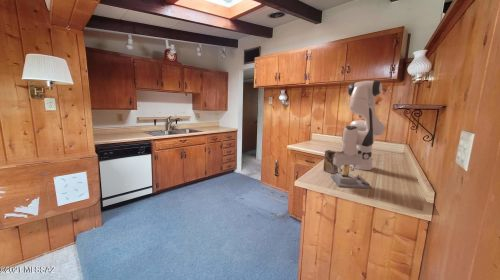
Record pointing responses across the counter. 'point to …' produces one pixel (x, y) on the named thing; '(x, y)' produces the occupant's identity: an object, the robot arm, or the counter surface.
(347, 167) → the pin
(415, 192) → the counter surface
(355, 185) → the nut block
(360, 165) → the robot arm
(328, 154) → the coffee box
